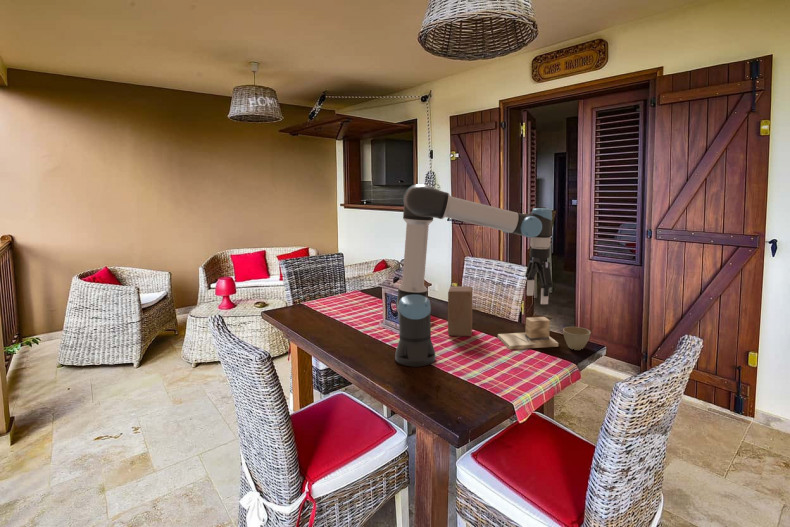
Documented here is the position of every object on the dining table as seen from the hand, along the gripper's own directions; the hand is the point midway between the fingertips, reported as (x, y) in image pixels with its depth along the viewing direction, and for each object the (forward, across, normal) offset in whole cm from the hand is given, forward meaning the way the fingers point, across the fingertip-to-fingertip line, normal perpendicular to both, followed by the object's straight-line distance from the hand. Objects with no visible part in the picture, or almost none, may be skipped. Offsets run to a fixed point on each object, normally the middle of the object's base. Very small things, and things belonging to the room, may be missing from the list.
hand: (536, 299), depth 179 cm
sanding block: (+16, 0, -1) cm, 16 cm away
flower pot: (+18, -10, -13) cm, 24 cm away
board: (+18, 0, +3) cm, 18 cm away
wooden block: (+19, +16, +27) cm, 36 cm away
